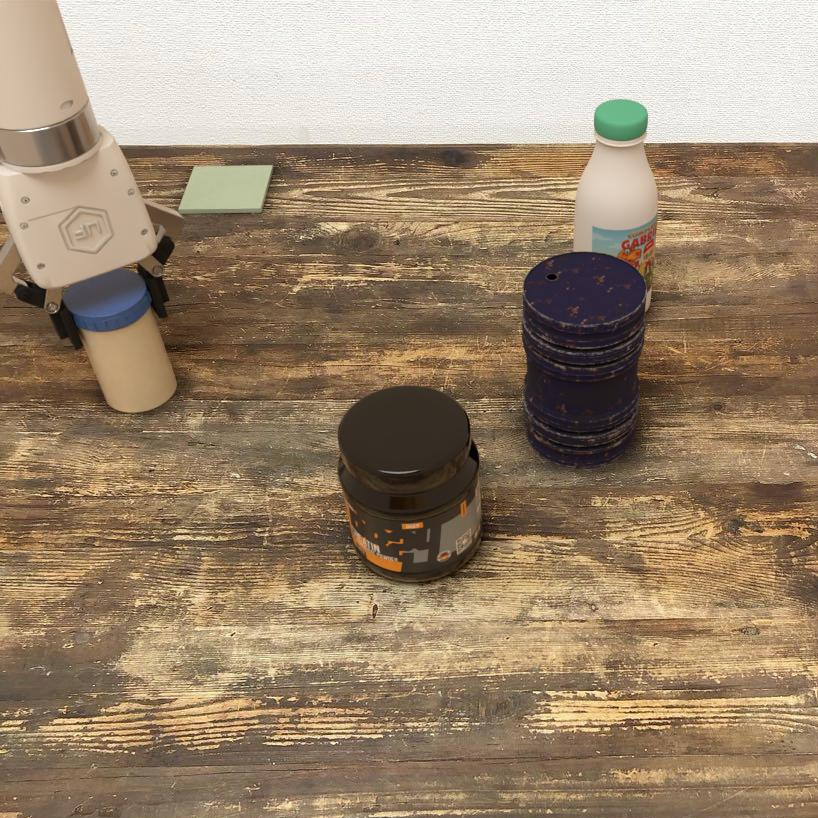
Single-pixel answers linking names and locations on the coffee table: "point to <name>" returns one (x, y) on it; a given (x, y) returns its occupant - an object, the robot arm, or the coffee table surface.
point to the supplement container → (410, 482)
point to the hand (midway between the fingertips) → (116, 324)
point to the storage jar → (582, 356)
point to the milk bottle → (619, 191)
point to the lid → (108, 300)
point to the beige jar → (131, 364)
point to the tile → (226, 189)
